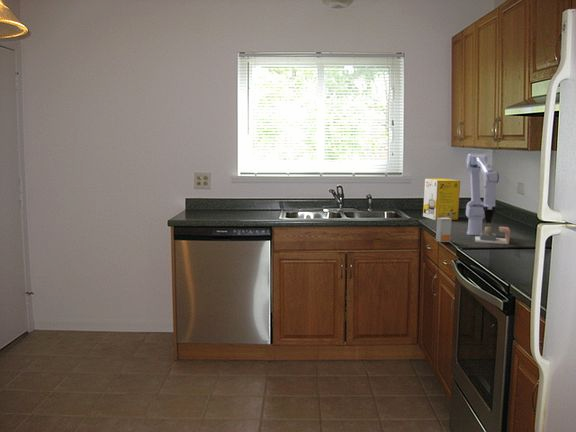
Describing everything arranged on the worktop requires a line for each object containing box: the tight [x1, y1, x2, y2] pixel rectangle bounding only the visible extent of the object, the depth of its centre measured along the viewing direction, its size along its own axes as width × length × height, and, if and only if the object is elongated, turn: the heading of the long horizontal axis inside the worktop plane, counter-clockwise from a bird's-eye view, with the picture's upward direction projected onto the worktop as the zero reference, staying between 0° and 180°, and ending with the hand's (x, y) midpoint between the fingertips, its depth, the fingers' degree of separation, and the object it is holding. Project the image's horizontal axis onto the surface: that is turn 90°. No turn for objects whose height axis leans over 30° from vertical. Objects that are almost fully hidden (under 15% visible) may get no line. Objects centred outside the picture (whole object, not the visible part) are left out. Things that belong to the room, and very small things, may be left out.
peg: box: [484, 226, 492, 235], centre depth 311 cm, size 3×3×6 cm
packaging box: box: [422, 178, 461, 221], centre depth 392 cm, size 16×16×25 cm
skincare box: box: [435, 218, 452, 243], centre depth 306 cm, size 6×4×12 cm
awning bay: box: [474, 226, 511, 245], centre depth 311 cm, size 12×16×7 cm
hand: (488, 221), depth 311 cm, fingers open, 7 cm apart
